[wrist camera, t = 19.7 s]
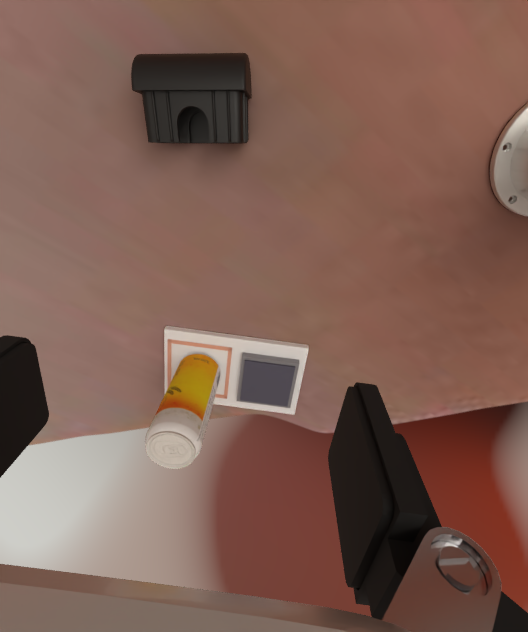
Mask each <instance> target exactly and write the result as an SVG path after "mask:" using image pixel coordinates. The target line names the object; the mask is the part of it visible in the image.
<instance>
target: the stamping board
mask: <svg viewBox="0 0 528 632" xmlns="http://www.w3.org/2000/svg"><path fill="white" fill-rule="evenodd" d="M308 350H309V346H308V345H306V344H298V343H291V342H283V341H276V340H269V339H261V338H254V337H246V336H239V335H232V334H224V333H217V332H210V331H202V330H195V329H187V328H180V327H173V326H166V327H165V329H164V360H165V393H166V391H167V389H168V387H169V385H170V383H171V381H172V379H173V376H174V374H175V372H176V370H177V368H178V366H179V364H180V362H181V360H182V359H183V358H185V357H186V356H188V355H192V354H204V355H207V356H209V357H211V358H212V359H213V360H214V361H215V362H216V363H217V364H218V365H219V367H220V371H221V376H220V380H219V384H218V388H217V391H216V395H215V399H214V403H213V404H218V405H225V406H233V407H240V408H248V409H255V410H263V411H271V412H278V413H286V414H293V415H294V414H295V409H296V405H297V400H298V396H299V391H300V387H301V382H302V377H303V373H304V368H305V364H306V359H307V355H308Z"/></svg>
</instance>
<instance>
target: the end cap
mask: <svg viewBox="0 0 528 632" xmlns="http://www.w3.org/2000/svg"><path fill="white" fill-rule="evenodd" d="M131 79H132V90H133V91H135V92H138V93H140V94H142V97H143V105H144V112H145V120H146V127H147V135H148V142H152V143H247V141H248V99H250V98H251V74H250V63H249V58H248V55H247V54H246V53H212V54H139V55H137V56H136V57H135V58H134V60H133V63H132V73H131Z"/></svg>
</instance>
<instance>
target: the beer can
mask: <svg viewBox="0 0 528 632" xmlns="http://www.w3.org/2000/svg"><path fill="white" fill-rule="evenodd" d="M220 376H221V371H220V367H219V365H218V364H217V363H216V362H215V361H214V360H213V359H212V358H211V357H209V356H207V355H204V354H192V355H188V356H186V357H185V358H183V359H182V360H181V362H180V364H179V366H178V368H177V370H176V372H175V374H174V376H173V379H172V381H171V383H170V385H169V387H168V389H167V391H166V393H165V396H164V398H163V400H162V402H161V404H160V406H159V408H158V410H157V413H156V415H155V417H154V419H153V421H152V423H151V425H150V427H149V430H148V432H147V434H146V453H147V455H148V456H149V458H150V459H151V460H152V461H153V462H155V463H156V464H158V465H160V466H162V467H165V468H170V469H179V468H184V467H186V466H188V465H190V464H191V463H192V462H193V460H194V458H196V457H197V456H198V455H199V453H200V451H201V447H202V444H203V440H204V436H205V432H206V429H207V425H208V421H209V418H210V414H211V410H212V406H213V403H214V399H215V395H216V391H217V388H218V384H219V380H220Z"/></svg>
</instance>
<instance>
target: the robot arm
mask: <svg viewBox="0 0 528 632" xmlns="http://www.w3.org/2000/svg"><path fill="white" fill-rule="evenodd" d="M503 146H505V147H504V149H503ZM490 180H491V186H492V189H493V192H494V194H495V196H496V197H497V199H498V200H499V202H500V203H501V204H502V205H503V206H504V207H505V208H507V209H508V210H510V211H512V212H514V213H516V214H520V215H523V216H527V217H528V103H527V104H526V105H525V106H524V107H523V108H521V109H520V110H519V111H518V112H517V113H516V114H515V115H514V117H513V118H512V119H511V120H510V121H509V123H508V124H507V125H506V127H505V128H504V130H503V132H502V133H501V135H500V136H499V139H498V141H497V143H496V145H495V148H494V150H493V154H492V158H491V163H490ZM509 198H510V199H509ZM48 417H49V411H48V406H47V402H46V397H45V392H44V387H43V382H42V377H41V372H40V367H39V362H38V357H37V353H36V348H35V346H34V345H33V344H31V342H30V341H29V339H27V338H22V337H15V336H2V337H0V477H1V476H2V475H3V474H4V473H5V471H6V470H7V469H8V468H9V467H10V466H11V464H12V463H13V462H14V461H15V460H16V459H17V457H18V456H19V455H20V454H21V453H22V451H23V450H24V449H25V448H26V447H27V446H28V445H29V443H30V442H31V441H32V440H33V439H34V438H35V436H36V435H37V434H38V433H39V432H40V431H41V429H42V428H43V427H44V426H45V424H46V423H47V421H48ZM328 461H329V469H330V476H331V483H332V490H333V497H334V503H335V511H336V517H337V524H338V531H339V537H340V545H341V552H342V558H343V565H344V572H345V579H346V583H347V585H348V587H352V588H354V594H355V599H356V604H363V605H370V610H371V615H372V617H373V618H372V617H369V616H366V615H361V614H357V613H352V612H347V611H342V610H337V609H332V608H327V607H321V606H314V605H307V604H301V603H294V602H288V601H281V600H274V599H268V598H261V597H255V596H247V595H239V594H232V593H223V592H216V591H209V590H201V589H194V588H186V587H178V586H170V585H163V584H156V583H148V582H140V581H132V580H125V579H116V578H109V577H101V576H93V575H85V574H77V573H69V572H61V571H53V570H45V569H37V568H29V567H21V566H13V565H5V564H0V632H528V613H527V612H526V611H524V610H523V609H522V608H521V607H520V606H519V605H517V604H516V603H515V602H514V601H513V600H511V599H510V598H509V597H508V596H507V595H505V594H504V593H503V592H502V591H501V580H500V577H499V574H498V571H497V569H496V567H495V565H494V564H493V562H492V560H491V559H490V557H489V556H488V555H487V554H486V553H485V551H484V550H483V549H482V548H481V547H480V546H479V545H478V544H477V543H476V542H474V541H473V540H472V539H470V538H469V537H468V536H466V535H464V534H463V533H461V532H459V531H456V530H454V529H451V528H448V527H442V526H441V524H440V522H439V519H438V517H437V514H436V512H435V510H434V507H433V505H432V502H431V500H430V498H429V495H428V493H427V491H426V488H425V486H424V483H423V481H422V479H421V476H420V474H419V471H418V469H417V467H416V464H415V462H414V460H413V457H412V455H411V452H410V450H409V448H408V445H407V443H406V440H405V439H404V437H403V436H402V435H401V434H398V433H395V431H394V428H393V426H392V423H391V420H390V418H389V415H388V413H387V410H386V408H385V405H384V403H383V400H382V398H381V395H380V393H379V390H378V388H377V386H376V385H372V384H365V383H355V385H354V387H348V389H347V392H346V395H345V399H344V402H343V406H342V409H341V412H340V416H339V419H338V422H337V426H336V429H335V432H334V436H333V439H332V442H331V446H330V449H329V456H328Z"/></svg>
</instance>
